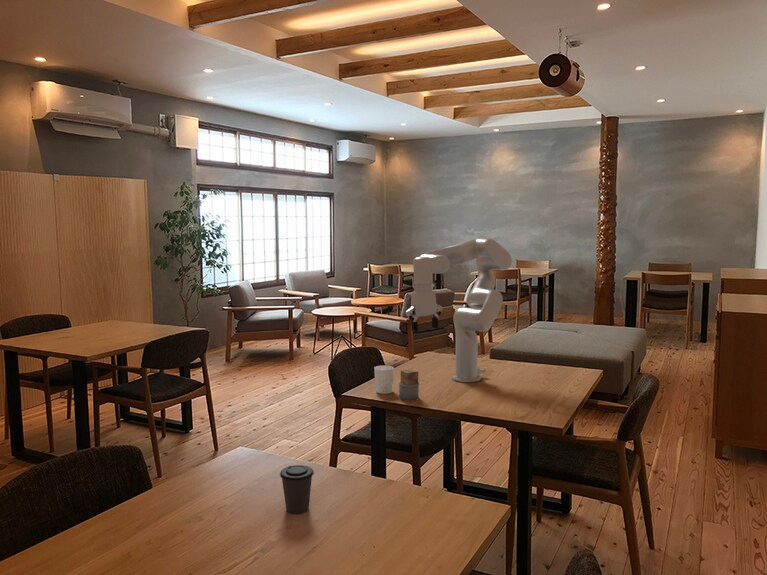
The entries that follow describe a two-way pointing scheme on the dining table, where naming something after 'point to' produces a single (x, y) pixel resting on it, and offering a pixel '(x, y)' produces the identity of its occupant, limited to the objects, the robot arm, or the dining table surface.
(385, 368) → the white cup
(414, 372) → the walnut cube
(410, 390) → the stoneware pot
